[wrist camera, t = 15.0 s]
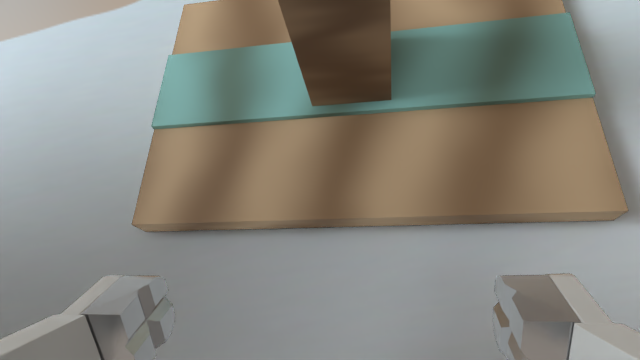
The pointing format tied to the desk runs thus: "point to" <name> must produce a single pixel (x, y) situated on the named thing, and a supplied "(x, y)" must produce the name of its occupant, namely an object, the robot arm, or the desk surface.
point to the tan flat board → (379, 125)
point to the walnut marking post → (341, 48)
